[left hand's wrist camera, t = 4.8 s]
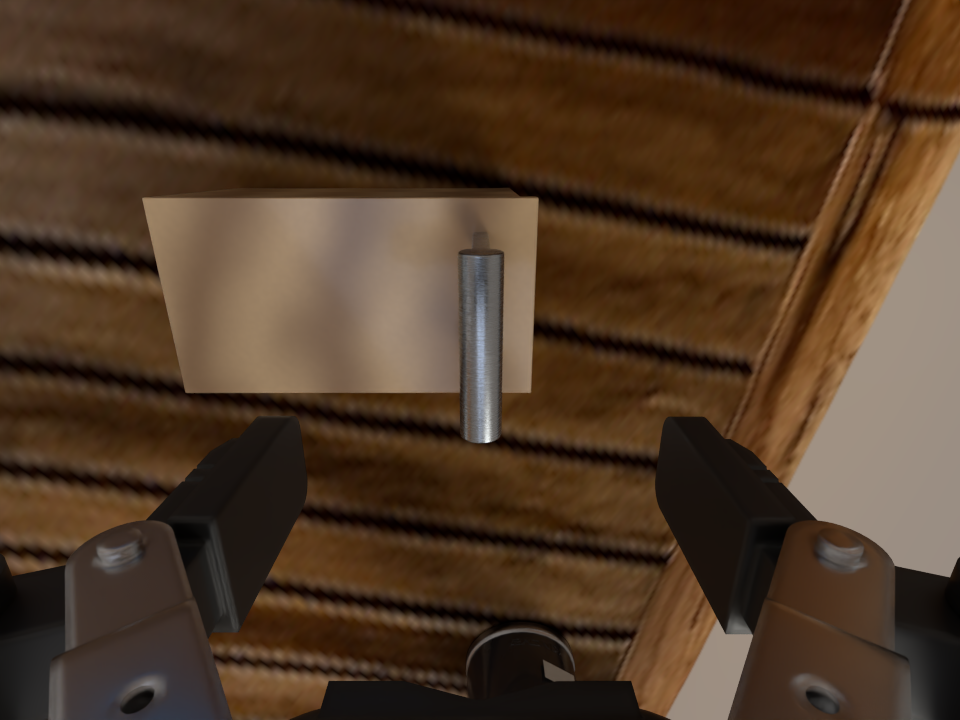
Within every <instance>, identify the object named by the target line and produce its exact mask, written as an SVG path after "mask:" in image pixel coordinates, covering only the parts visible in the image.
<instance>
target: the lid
mask: <svg viewBox="0 0 960 720" xmlns="http://www.w3.org/2000/svg"><path fill="white" fill-rule="evenodd" d="M142 200H143V204H144V209H145V213H146V218H147V222H148V227H149V231H150V236H151V240H152V245H153V249H154V253H155V258H156V262H157V267H158V271H159V276H160V280H161V285H162V289H163V294H164V298H165V303H166V307H167V312H168V316H169V321H170V325H171V330H172V334H173V338H174V343H175V347H176V352H177V356H178V361H179V365H180V370H181V374H182V379H183V383H184V388H185V392H186V393H460V434H461V436H462V437H463V438H464V439H465V440H467V441H469V442H473V443H489V442H493V441H495V440H497V439H498V438H499V437H500V435H501V423H502V393H530V392H531V379H532V353H533V327H534V301H535V276H536V250H537V224H538V198H537V197H144V198H142Z"/></svg>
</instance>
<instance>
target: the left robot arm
mask: <svg viewBox="0 0 960 720" xmlns="http://www.w3.org/2000/svg"><path fill="white" fill-rule="evenodd" d="M655 490H656V497H657V502H658V505H659V508H660V510H661V512H662V513H663V515H664V517H665V519H666V521H667V523H668V525H669V527H670V529H671V531H672V533H673V534H674V536H675V538H676V540H677V542H678V544H679V546H680V548H681V550H682V552H683V554H684V555H685V557H686V559H687V561H688V563H689V565H690V567H691V569H692V571H693V573H694V575H695V577H696V578H697V580H698V582H699V584H700V586H701V588H702V590H703V592H704V594H705V596H706V598H707V599H708V601H709V603H710V605H711V607H712V609H713V611H714V613H715V615H716V617H717V619H718V620H719V622H720V624H721V626H722V628H723V630H724V632H725V634H753V638H752V642H751V645H750V648H749V652H748V655H747V658H746V661H745V665H744V668H743V671H742V674H741V678H740V681H739V684H738V687H737V691H736V694H735V697H734V701H733V704H732V707H731V710H730V714H729V717H728V720H960V557H959V558H958V560H957V562H956V565H955V567H954V569H953V572H952V574H951V577H945V576H940V575H935V574H930V573H926V572H921V571H916V570H911V569H906V568H902V567H897V566H894V563H893V561H892V559H891V558H890V557H889V555H888V554H887V553H886V552H885V551H884V550H883V549H882V548H881V547H880V546H879V545H877V544H876V543H875V542H873V541H872V540H870V539H869V538H867V537H865V536H863V535H862V534H860V533H858V532H856V531H853V530H851V529H849V528H846V527H843V526H840V525H837V524H833V523H829V522H824V521H817V520H816V518H815V517H814V516H813V515H812V514H811V513H810V512H809V511H808V510H807V509H806V508H805V507H804V506H803V505H802V504H801V503H800V502H799V501H798V500H797V498H796V497H795V496H794V495H793V494H792V493H791V492H790V491H789V490H788V489H787V488H786V487H785V486H784V485H783V484H782V483H779V482H778V478H777V477H776V476H775V475H774V474H773V473H772V472H771V471H770V470H767V467H766V466H765V465H764V464H763V463H762V462H761V461H760V459H759V458H758V457H757V456H756V455H755V454H754V453H753V452H752V451H750V450H748V449H746V448H745V447H743V446H741V445H740V444H738V443H736V442H734V441H733V440H731V439H724V438H723V437H722V436H721V434H720V433H719V432H718V431H717V430H716V429H715V428H714V427H713V425H712V424H711V423H710V422H709V421H708V420H707V419H706V418H705V417H667V418H666V420H665V422H664V425H663V429H662V436H661V443H660V450H659V457H658V464H657V471H656V479H655ZM306 494H307V473H306V466H305V459H304V452H303V445H302V437H301V430H300V425H299V421H298V419H297V418H296V417H295V416H259V417H257V418H256V419H255V420H254V421H253V423H252V424H251V425H250V426H249V427H248V428H247V429H246V430H245V432H244V433H243V434H242V435H241V436H240V437H239V438H232V439H231V440H229V441H227V442H225V443H224V444H222V445H220V446H219V447H217V448H215V449H214V450H212V451H211V452H210V453H209V454H208V455H207V456H206V457H205V458H204V459H203V460H202V461H201V462H200V463H199V464H198V465H197V469H194V470H193V471H192V472H191V473H190V474H189V475H188V476H187V477H186V478H185V482H181V483H180V484H179V486H178V487H177V488H176V489H175V490H174V491H173V492H172V493H171V494H170V495H169V496H168V497H167V498H166V499H165V500H164V501H163V503H162V504H161V505H160V506H159V507H158V508H157V509H156V510H155V511H154V512H153V513H152V514H151V515H150V516H149V517H148V519H147V520H144V521H136V522H131V523H127V524H123V525H120V526H117V527H114V528H111V529H109V530H107V531H104V532H102V533H100V534H98V535H97V536H95V537H93V538H91V539H90V540H88V541H87V542H85V543H84V544H83V545H81V546H80V547H79V548H78V549H77V550H76V551H75V552H74V553H73V554H72V555H71V557H70V558H69V559H68V561H67V563H66V565H64V566H60V567H55V568H50V569H45V570H40V571H36V572H31V573H26V574H21V575H16V576H12V575H11V572H10V570H9V567H8V565H7V562H6V560H5V558H4V556H3V555H2V554H0V720H232V717H231V714H230V710H229V707H228V704H227V701H226V697H225V694H224V691H223V687H222V684H221V681H220V678H219V674H218V671H217V668H216V665H215V661H214V658H213V655H212V652H211V648H210V645H209V642H208V638H209V636H210V635H211V633H212V632H239V630H240V628H241V626H242V624H243V622H244V620H245V618H246V616H247V614H248V613H249V611H250V609H251V607H252V605H253V603H254V601H255V599H256V597H257V595H258V593H259V591H260V589H261V587H262V585H263V583H264V582H265V580H266V578H267V576H268V574H269V572H270V570H271V568H272V566H273V564H274V562H275V560H276V558H277V556H278V554H279V553H280V551H281V549H282V547H283V545H284V543H285V541H286V539H287V537H288V535H289V533H290V531H291V529H292V527H293V525H294V524H295V522H296V520H297V518H298V516H299V514H300V512H301V510H302V508H303V506H304V503H305V499H306ZM466 677H467V697H462V696H459V695H455V694H451V693H447V692H443V691H439V690H436V689H432V688H428V687H424V686H420V685H417V684H413V683H409V682H405V681H329V682H328V686H327V689H326V693H325V696H324V700H323V703H322V706H321V709H318V710H314V711H310V712H308V713H305V714H302V715H300V716H297V717H294V718H292V719H290V720H670V719H668V718H666V717H663V716H660V715H658V714H655V713H652V712H650V711H646V710H642V709H639V706H638V703H637V700H636V696H635V693H634V689H633V686H632V682H631V681H576V677H575V666H574V660H573V655H572V651H571V648H570V646H569V644H568V642H567V641H566V640H565V639H564V638H563V637H562V636H561V635H560V634H559V633H558V632H556V631H555V630H553V629H551V628H549V627H547V626H544V625H541V624H537V623H532V622H510V623H505V624H501V625H498V626H495V627H493V628H491V629H489V630H487V631H485V632H484V633H482V634H481V635H480V636H479V637H477V638H476V640H475V641H474V642H473V643H472V645H471V646H470V648H469V650H468V653H467V658H466Z"/></svg>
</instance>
